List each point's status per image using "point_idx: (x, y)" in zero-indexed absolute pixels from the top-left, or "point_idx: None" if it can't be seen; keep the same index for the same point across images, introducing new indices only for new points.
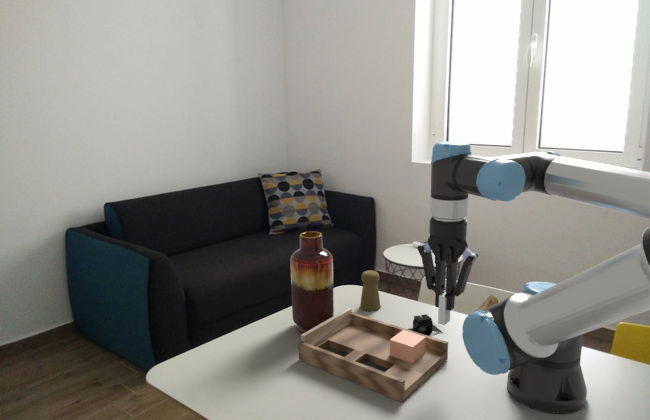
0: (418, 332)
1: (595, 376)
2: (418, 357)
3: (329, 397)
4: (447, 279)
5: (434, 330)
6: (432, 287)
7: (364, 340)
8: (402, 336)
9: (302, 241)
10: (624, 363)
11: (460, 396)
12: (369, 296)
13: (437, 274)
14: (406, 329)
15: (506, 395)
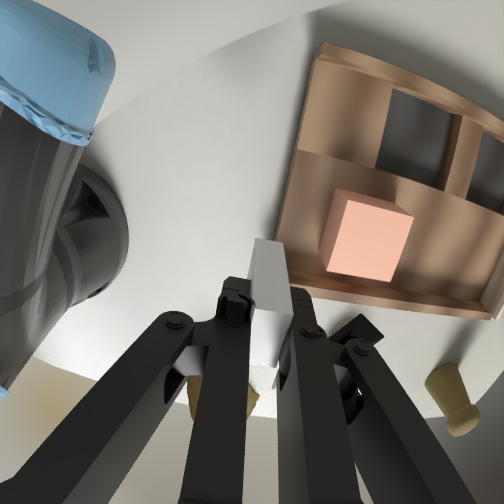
0: (350, 337)
1: None
2: (328, 217)
3: (445, 34)
4: (237, 399)
5: None
6: (344, 350)
7: (454, 245)
8: (386, 247)
9: None
10: None
11: (198, 129)
12: (454, 387)
13: (328, 426)
14: (380, 305)
15: (118, 182)
